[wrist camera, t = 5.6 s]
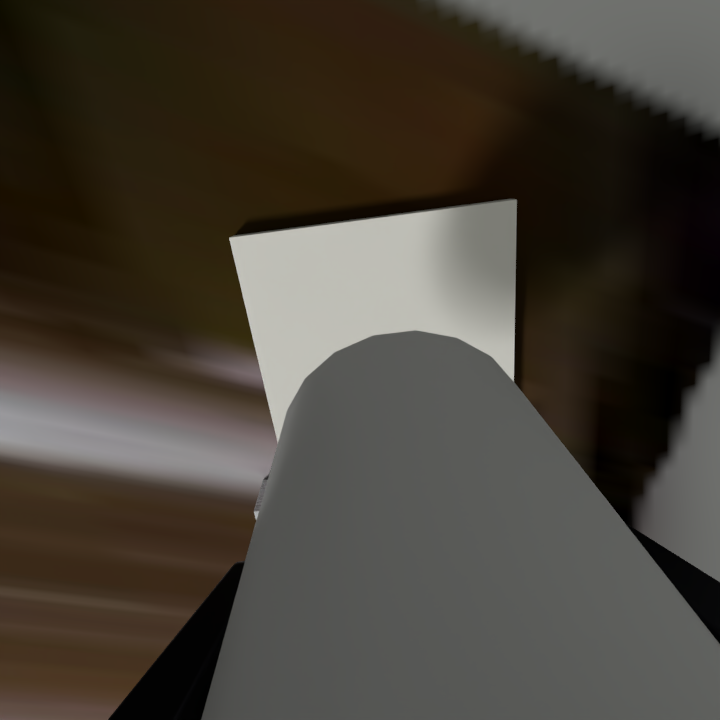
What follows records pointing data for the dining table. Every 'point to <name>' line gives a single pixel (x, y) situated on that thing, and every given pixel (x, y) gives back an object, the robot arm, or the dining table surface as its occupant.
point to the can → (446, 563)
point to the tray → (377, 287)
